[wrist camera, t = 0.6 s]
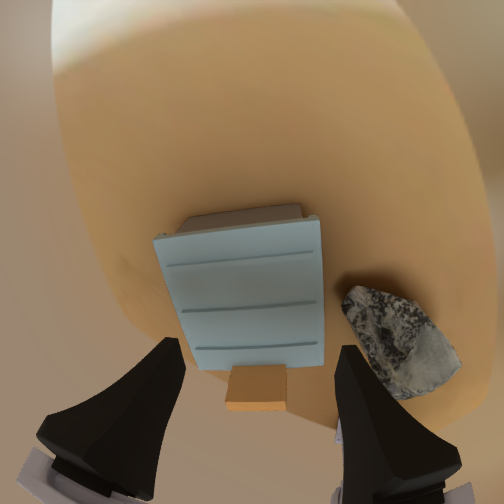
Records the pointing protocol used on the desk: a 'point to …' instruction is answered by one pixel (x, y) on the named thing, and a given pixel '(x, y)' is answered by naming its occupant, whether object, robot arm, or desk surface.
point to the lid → (249, 303)
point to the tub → (242, 217)
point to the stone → (400, 342)
